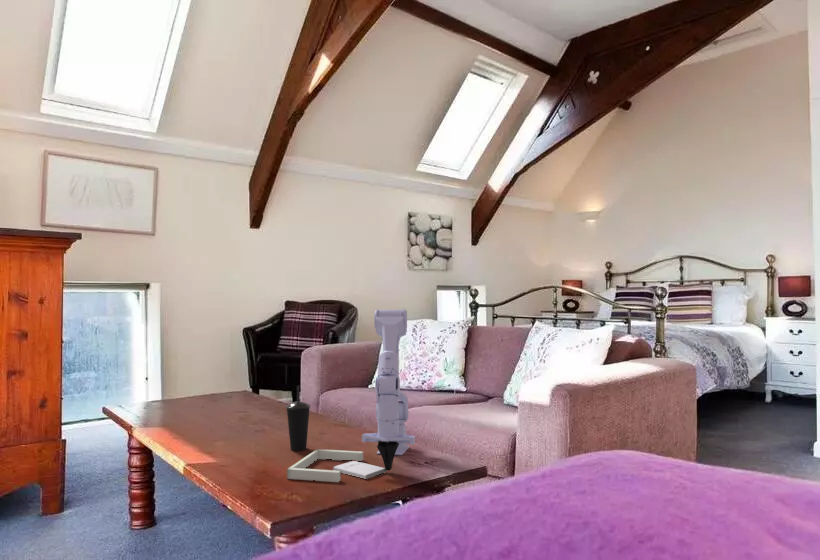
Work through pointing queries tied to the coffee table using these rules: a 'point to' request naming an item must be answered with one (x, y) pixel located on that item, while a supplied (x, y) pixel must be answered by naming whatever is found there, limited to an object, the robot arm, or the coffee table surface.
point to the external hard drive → (359, 469)
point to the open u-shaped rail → (321, 475)
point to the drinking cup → (298, 423)
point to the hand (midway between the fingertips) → (388, 469)
